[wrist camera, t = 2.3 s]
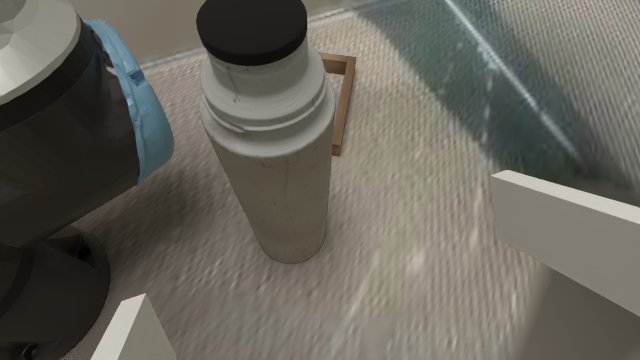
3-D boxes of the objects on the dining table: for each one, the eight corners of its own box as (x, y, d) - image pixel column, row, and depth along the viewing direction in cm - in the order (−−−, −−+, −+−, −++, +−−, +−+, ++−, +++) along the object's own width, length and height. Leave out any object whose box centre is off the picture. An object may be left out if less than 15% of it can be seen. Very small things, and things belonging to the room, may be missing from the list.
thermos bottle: (286, 187, 42) (244, -60, 17) (339, 222, 40) (376, -2, 15) (243, 237, 39) (117, 22, 14) (297, 278, 37) (261, 109, 12)
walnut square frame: (223, 137, 46) (218, 126, 43) (254, 56, 53) (252, 43, 51) (339, 156, 44) (340, 145, 42) (354, 70, 52) (356, 57, 50)
